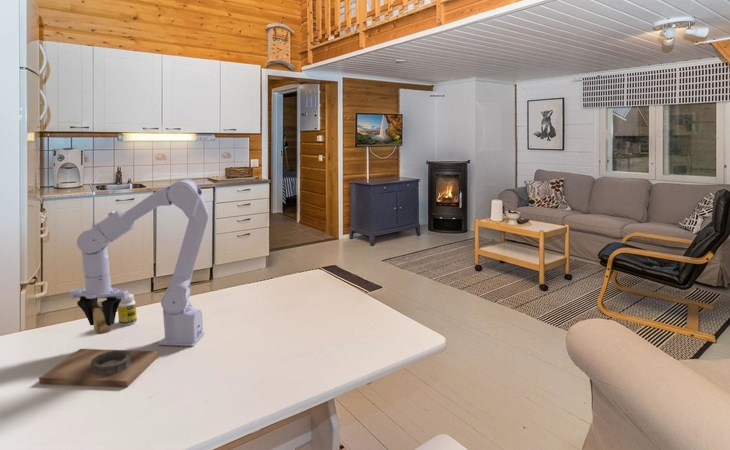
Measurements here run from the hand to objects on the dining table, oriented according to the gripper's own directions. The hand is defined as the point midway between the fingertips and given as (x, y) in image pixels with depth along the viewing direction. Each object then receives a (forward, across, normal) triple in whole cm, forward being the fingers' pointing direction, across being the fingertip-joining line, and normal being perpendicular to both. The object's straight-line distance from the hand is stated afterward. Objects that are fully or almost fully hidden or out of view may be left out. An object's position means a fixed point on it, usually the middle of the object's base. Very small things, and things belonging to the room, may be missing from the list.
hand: (102, 324), depth 117 cm
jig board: (+6, +7, -12) cm, 15 cm away
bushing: (+2, 0, 0) cm, 2 cm away
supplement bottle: (+6, -2, +15) cm, 16 cm away
